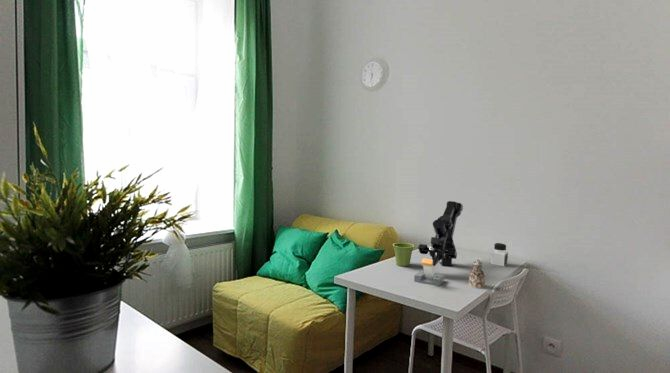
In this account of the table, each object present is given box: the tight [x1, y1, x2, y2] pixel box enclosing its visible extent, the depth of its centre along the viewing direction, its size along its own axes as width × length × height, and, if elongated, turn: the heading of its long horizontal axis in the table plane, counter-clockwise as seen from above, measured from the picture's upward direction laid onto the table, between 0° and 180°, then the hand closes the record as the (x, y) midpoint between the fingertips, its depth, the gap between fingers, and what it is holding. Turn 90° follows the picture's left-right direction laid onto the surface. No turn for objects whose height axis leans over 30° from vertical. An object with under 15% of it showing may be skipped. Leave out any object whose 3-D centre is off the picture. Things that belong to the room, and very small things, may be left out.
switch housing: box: [413, 270, 445, 287], centre depth 180 cm, size 9×12×3 cm
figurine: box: [468, 259, 486, 289], centre depth 175 cm, size 7×7×12 cm
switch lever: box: [421, 258, 435, 279], centre depth 178 cm, size 3×5×10 cm
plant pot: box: [392, 242, 415, 267], centre depth 207 cm, size 12×12×11 cm
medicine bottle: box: [490, 242, 509, 268], centre depth 212 cm, size 7×7×12 cm
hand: (433, 265), depth 186 cm, fingers closed
